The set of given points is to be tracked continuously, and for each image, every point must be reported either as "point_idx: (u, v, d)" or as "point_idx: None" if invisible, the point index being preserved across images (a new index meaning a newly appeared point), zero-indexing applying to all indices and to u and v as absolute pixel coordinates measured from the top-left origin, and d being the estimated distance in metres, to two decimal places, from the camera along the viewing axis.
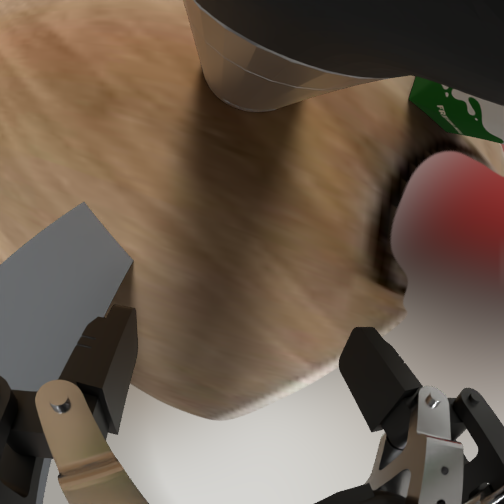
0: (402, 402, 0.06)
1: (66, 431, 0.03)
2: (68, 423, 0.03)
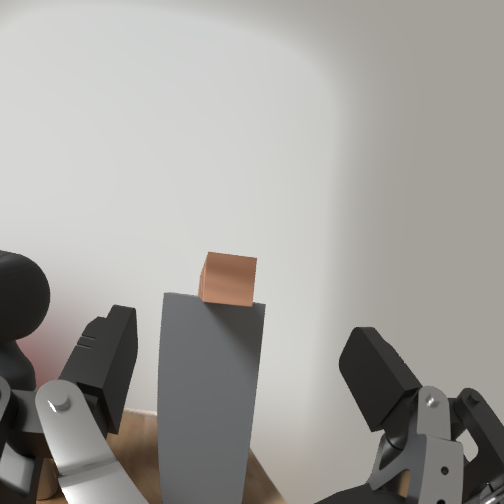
0: (402, 402, 0.06)
1: (66, 431, 0.03)
2: (68, 423, 0.03)
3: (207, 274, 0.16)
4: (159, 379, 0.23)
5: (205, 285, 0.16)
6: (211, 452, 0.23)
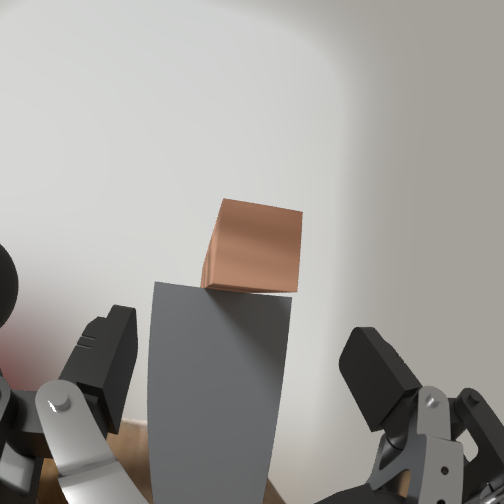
0: (402, 402, 0.06)
1: (66, 431, 0.03)
2: (68, 423, 0.03)
3: (221, 236, 0.09)
4: (149, 398, 0.17)
5: (217, 255, 0.09)
6: (219, 485, 0.16)
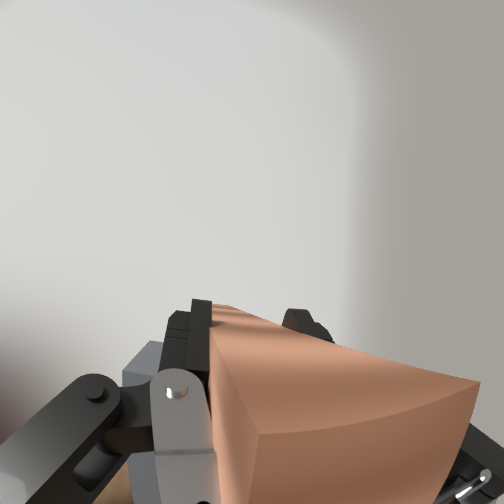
0: None
1: (196, 414, 0.05)
2: (180, 409, 0.05)
3: None
4: (136, 501, 0.09)
5: None
6: None
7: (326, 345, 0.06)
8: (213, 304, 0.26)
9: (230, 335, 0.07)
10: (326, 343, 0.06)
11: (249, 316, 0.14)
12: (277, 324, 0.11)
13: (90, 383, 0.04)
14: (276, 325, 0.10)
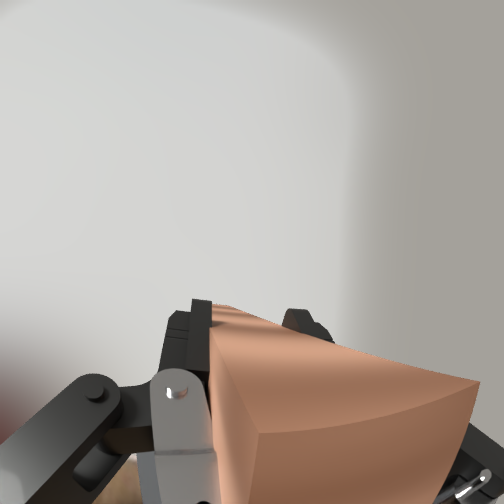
0: None
1: (196, 414, 0.05)
2: (181, 409, 0.05)
3: None
4: None
5: None
6: None
7: (326, 345, 0.06)
8: (213, 304, 0.26)
9: (230, 335, 0.07)
10: (326, 343, 0.06)
11: (249, 316, 0.14)
12: (277, 324, 0.11)
13: (90, 383, 0.04)
14: (276, 325, 0.11)
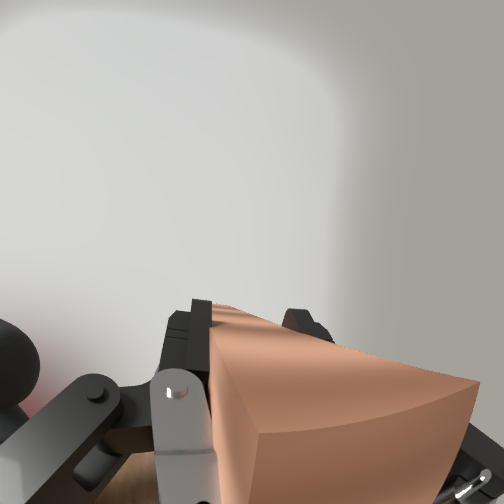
0: None
1: (196, 414, 0.05)
2: (180, 409, 0.05)
3: None
4: None
5: None
6: None
7: (326, 345, 0.06)
8: (213, 304, 0.26)
9: (230, 335, 0.07)
10: (326, 343, 0.06)
11: (249, 316, 0.14)
12: (277, 324, 0.11)
13: (90, 383, 0.04)
14: (276, 325, 0.11)
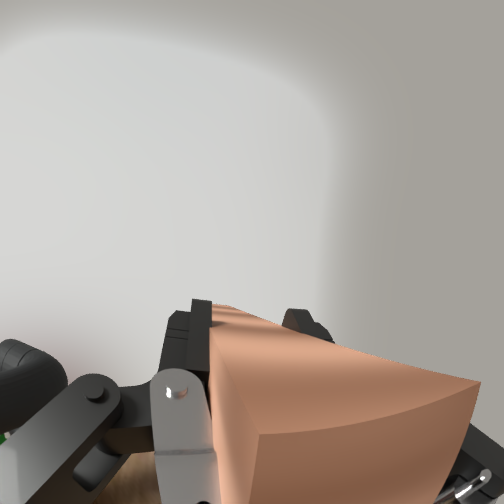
0: None
1: (196, 414, 0.05)
2: (181, 409, 0.05)
3: None
4: None
5: None
6: None
7: (326, 345, 0.06)
8: (213, 304, 0.25)
9: (230, 335, 0.07)
10: (326, 343, 0.06)
11: (249, 316, 0.14)
12: (277, 324, 0.11)
13: (90, 383, 0.04)
14: (276, 325, 0.10)
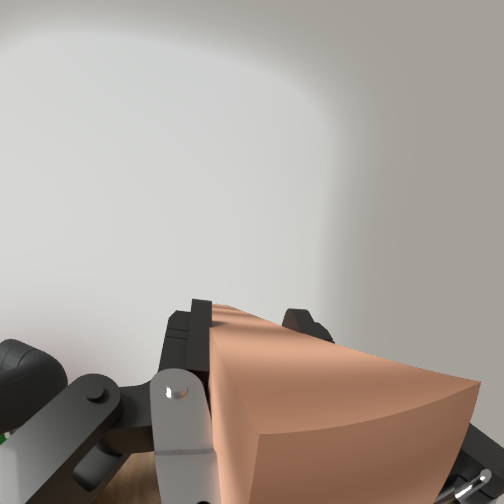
0: None
1: (196, 414, 0.05)
2: (181, 409, 0.05)
3: None
4: None
5: None
6: None
7: (326, 345, 0.06)
8: (213, 304, 0.25)
9: (230, 335, 0.07)
10: (326, 343, 0.06)
11: (249, 316, 0.14)
12: (277, 324, 0.11)
13: (90, 383, 0.04)
14: (276, 325, 0.10)
